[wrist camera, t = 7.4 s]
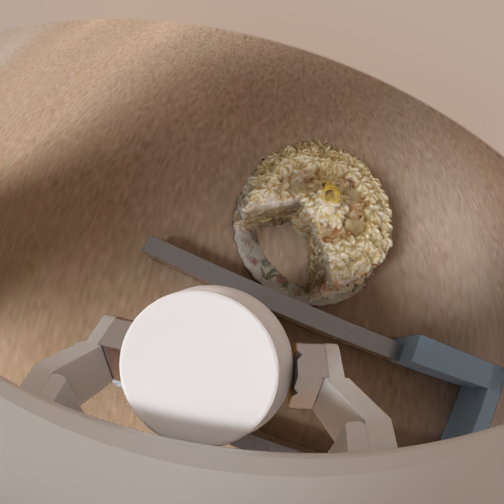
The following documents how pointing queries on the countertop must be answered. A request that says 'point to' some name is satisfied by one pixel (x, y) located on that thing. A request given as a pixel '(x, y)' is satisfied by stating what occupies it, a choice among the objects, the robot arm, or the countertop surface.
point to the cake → (316, 219)
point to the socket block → (457, 381)
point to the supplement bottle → (206, 365)
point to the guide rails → (279, 307)
